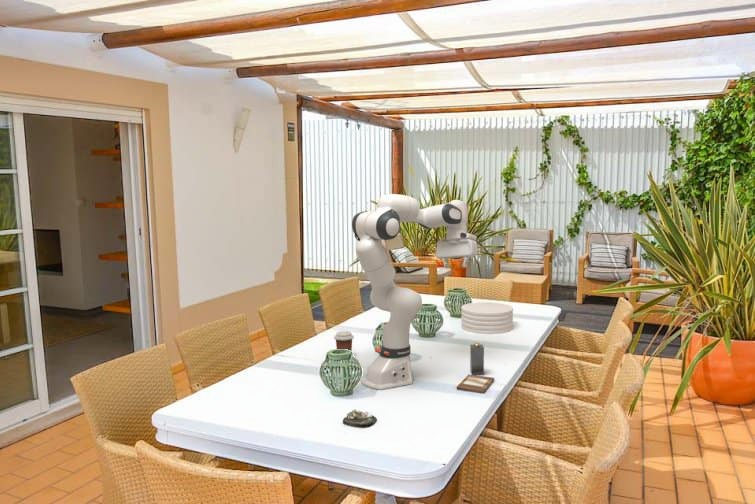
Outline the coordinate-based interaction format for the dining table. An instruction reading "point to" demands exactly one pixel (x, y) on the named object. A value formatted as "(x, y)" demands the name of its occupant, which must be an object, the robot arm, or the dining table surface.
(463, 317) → the plate stack
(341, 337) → the coffee cup
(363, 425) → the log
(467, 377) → the walnut board
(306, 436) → the dining table surface
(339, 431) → the dining table surface
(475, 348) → the block
